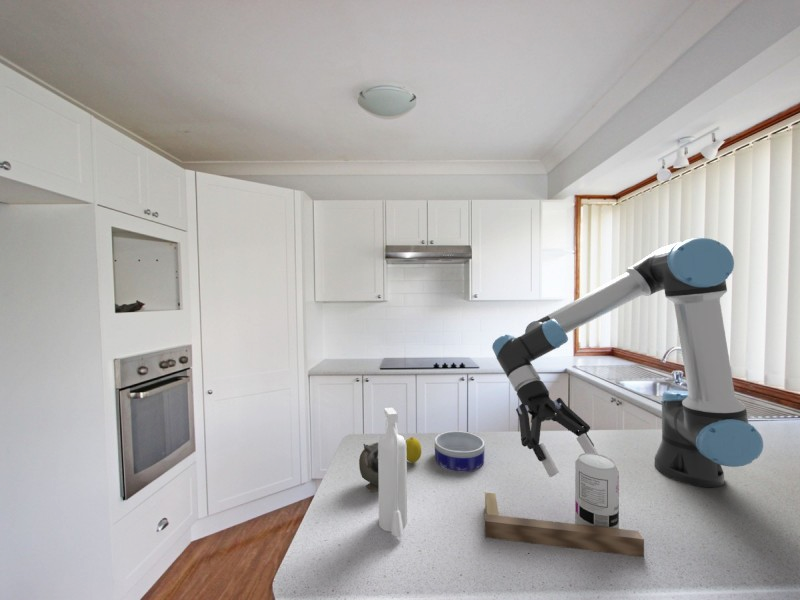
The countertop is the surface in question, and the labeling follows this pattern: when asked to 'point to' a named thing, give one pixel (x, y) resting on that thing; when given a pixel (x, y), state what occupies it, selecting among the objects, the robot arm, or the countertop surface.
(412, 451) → the lemon
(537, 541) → the walnut fence
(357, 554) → the countertop surface
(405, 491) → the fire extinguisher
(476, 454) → the dog bowl
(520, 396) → the robot arm
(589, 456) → the supplement can
